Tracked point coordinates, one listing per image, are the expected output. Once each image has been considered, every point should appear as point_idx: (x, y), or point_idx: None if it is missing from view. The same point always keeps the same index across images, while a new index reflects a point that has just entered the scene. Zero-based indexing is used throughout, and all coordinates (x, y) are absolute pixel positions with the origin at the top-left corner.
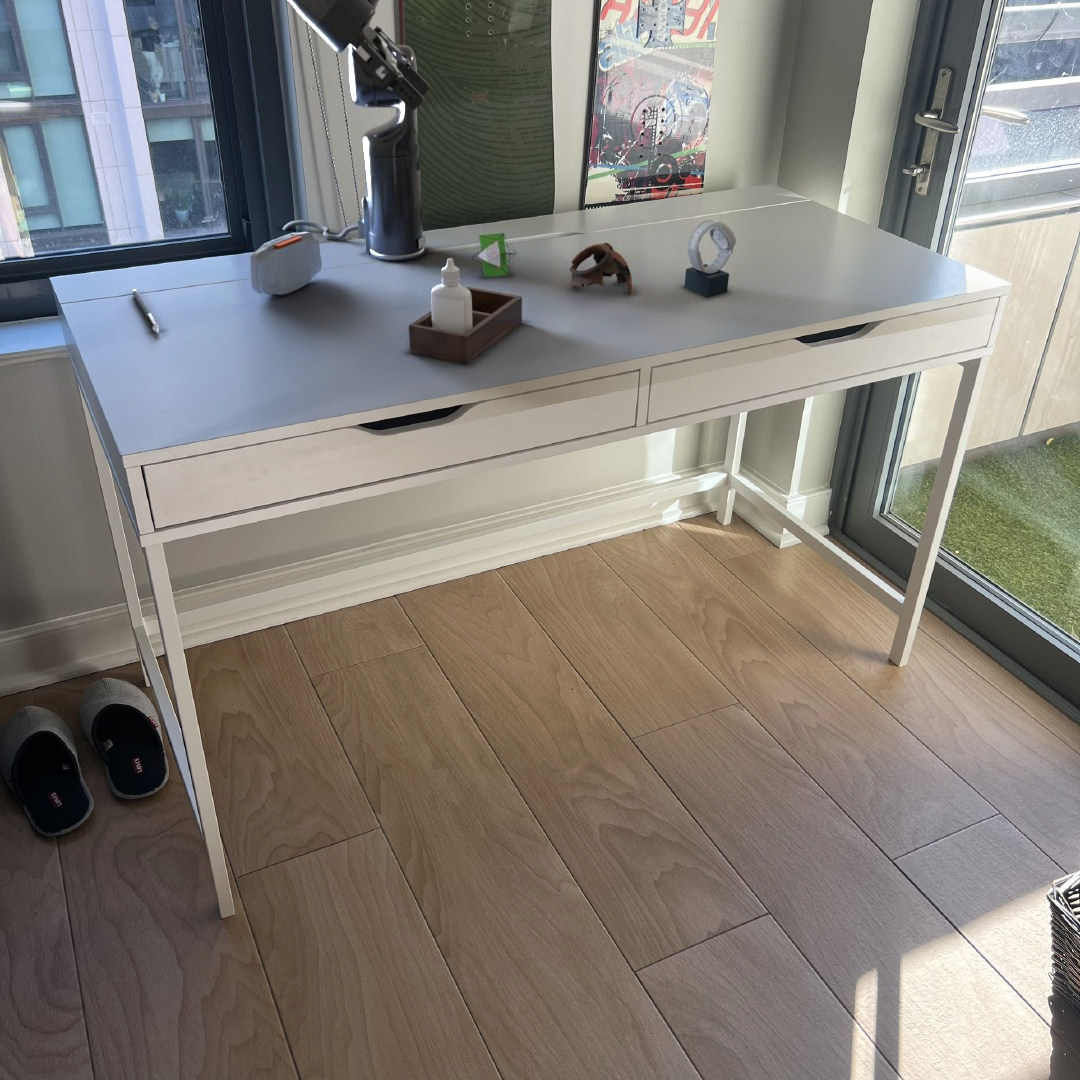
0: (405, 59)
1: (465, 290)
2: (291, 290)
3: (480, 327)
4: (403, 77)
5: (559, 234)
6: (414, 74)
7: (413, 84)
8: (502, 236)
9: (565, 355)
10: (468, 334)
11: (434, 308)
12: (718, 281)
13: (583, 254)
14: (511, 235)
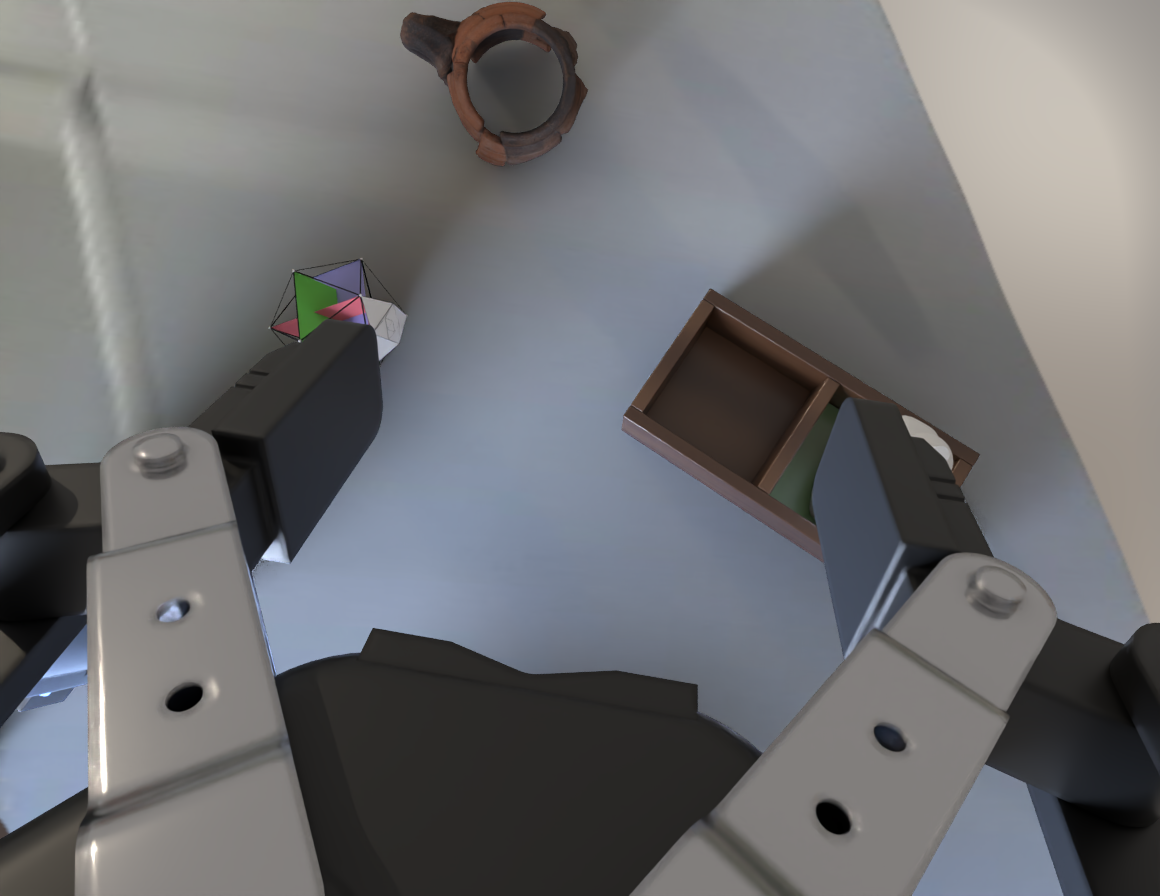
0: (149, 478)
1: (924, 428)
2: None
3: (913, 413)
4: (292, 528)
5: (79, 136)
6: (304, 415)
7: (337, 446)
8: (300, 278)
9: (901, 247)
10: (965, 447)
11: None
12: None
13: (467, 91)
14: (56, 258)
